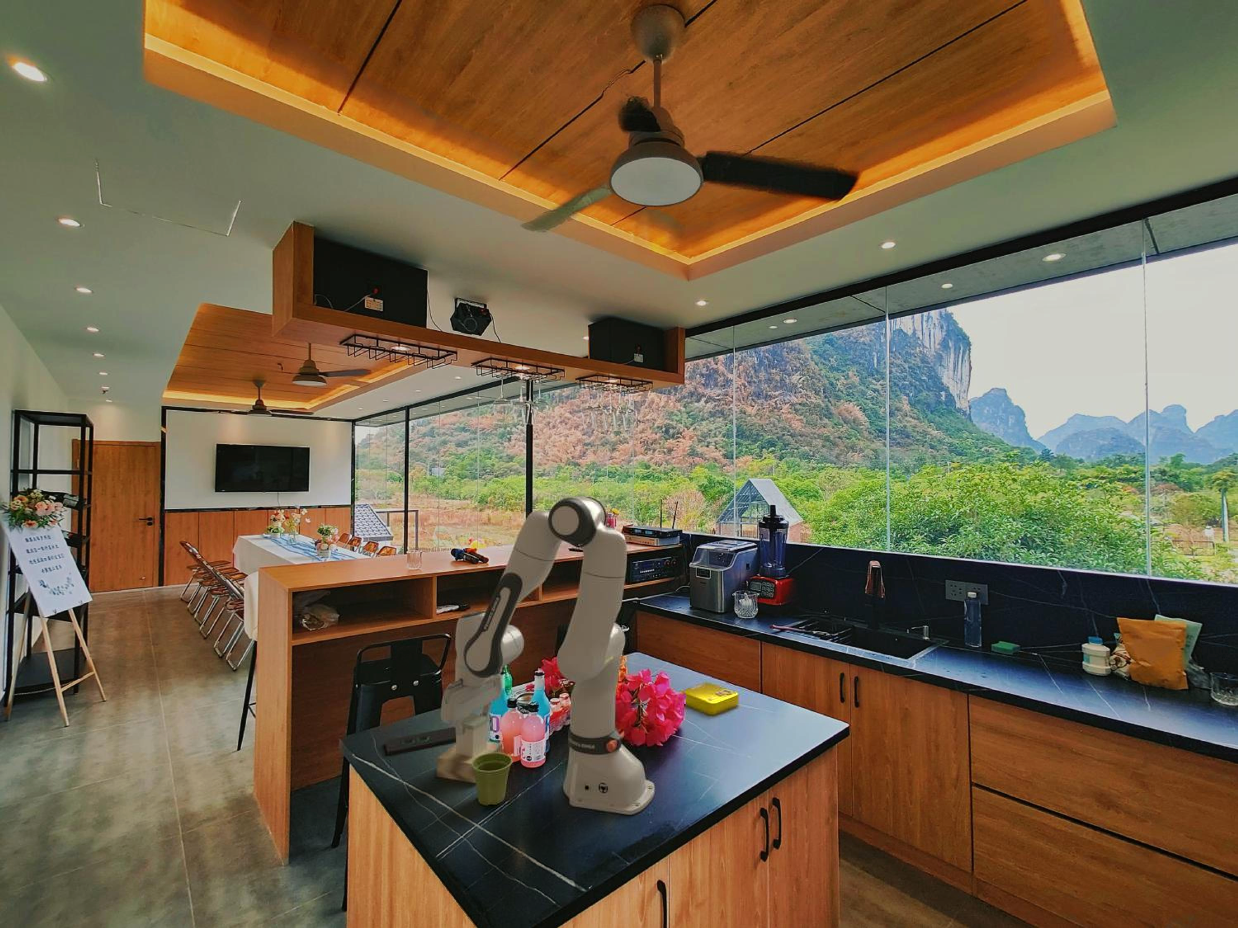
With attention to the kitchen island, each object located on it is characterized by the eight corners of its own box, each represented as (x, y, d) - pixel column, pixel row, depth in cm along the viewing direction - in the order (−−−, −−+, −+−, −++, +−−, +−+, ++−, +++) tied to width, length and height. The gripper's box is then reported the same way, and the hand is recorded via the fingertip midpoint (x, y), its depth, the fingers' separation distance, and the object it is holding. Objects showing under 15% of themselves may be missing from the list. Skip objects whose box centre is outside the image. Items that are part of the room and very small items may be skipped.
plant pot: (491, 784, 138) (491, 748, 138) (519, 795, 133) (520, 758, 134) (462, 802, 130) (463, 764, 130) (492, 814, 125) (492, 775, 126)
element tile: (707, 693, 201) (707, 679, 201) (741, 705, 189) (741, 691, 190) (678, 703, 191) (678, 689, 191) (712, 717, 180) (712, 702, 180)
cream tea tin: (488, 748, 147) (488, 717, 148) (472, 757, 142) (473, 725, 142) (470, 743, 150) (470, 713, 150) (454, 752, 144) (455, 721, 145)
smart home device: (384, 739, 160) (456, 725, 169) (384, 745, 160) (455, 731, 169) (387, 751, 152) (461, 736, 162) (387, 757, 152) (461, 742, 161)
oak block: (502, 762, 150) (502, 743, 150) (478, 785, 138) (478, 764, 138) (463, 755, 153) (463, 737, 153) (436, 777, 142) (437, 757, 142)
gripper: (454, 688, 136) (454, 745, 135) (505, 664, 154) (505, 714, 154) (434, 684, 139) (434, 741, 138) (487, 661, 157) (487, 711, 157)
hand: (472, 727), depth 146 cm, fingers open, 8 cm apart
